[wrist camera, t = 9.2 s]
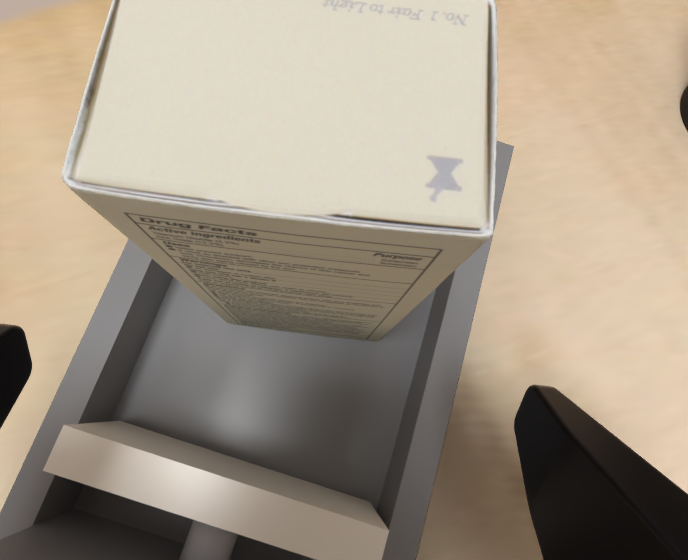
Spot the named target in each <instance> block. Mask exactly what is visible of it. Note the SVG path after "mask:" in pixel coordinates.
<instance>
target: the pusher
mask: <svg viewBox="0 0 688 560" xmlns="http://www.w3.org/2000/svg"><path fill="white" fill-rule="evenodd" d="M43 471H45V472H48V473H51V474H54V475H58V476H61V477H64V478H67V479H70V480H73V481H76V482H79V483H82V484H85V485H88V486H91V487H94V488H98V489H101V490H104V491H107V492H110V493H113V494H116V495H119V496H122V497H125V498H128V499H131V500H134V501H138V502H141V503H144V504H147V505H150V506H153V507H156V508H159V509H162V510H165V511H168V512H171V513H174V514H178V515H181V516H184V517H187V518H190V519H193V523H192V526H191V528H190V531H189V534H188V537H187V539H186V542H185V545H184V548H183V550H182V553H181V556H180V559H179V560H230V557H231V554H232V551H233V548H234V545H235V542H236V539H237V536H238V534H239V535H242V536H245V537H248V538H251V539H254V540H258V541H261V542H264V543H267V544H270V545H273V546H276V547H279V548H282V549H285V550H288V551H291V552H294V553H298V554H301V555H304V556H307V557H310V558H313V559H316V560H382V556H383V552H384V549H385V545H386V541H387V537H388V533H389V530H388V528H387V527H386V525H385V524H384V522H383V521H382V519H381V518H380V516H379V515H378V513H377V512H376V510H375V509H374V507H373V506H372V504H371V503H370V502H369V501H366V500H363V499H360V498H357V497H354V496H351V495H348V494H345V493H341V492H338V491H335V490H332V489H329V488H326V487H323V486H320V485H317V484H314V483H311V482H308V481H304V480H301V479H298V478H295V477H292V476H289V475H286V474H283V473H280V472H277V471H274V470H271V469H267V468H264V467H261V466H258V465H255V464H252V463H249V462H246V461H243V460H240V459H237V458H234V457H230V456H227V455H224V454H221V453H218V452H215V451H212V450H209V449H206V448H203V447H200V446H196V445H193V444H190V443H187V442H184V441H181V440H178V439H175V438H172V437H169V436H166V435H163V434H159V433H156V432H153V431H150V430H147V429H144V428H141V427H138V426H135V425H132V424H129V423H126V422H122V421H109V422H96V423H83V424H70V425H63V427H62V430H61V432H60V434H59V436H58V438H57V440H56V443H55V445H54V447H53V449H52V451H51V454H50V456H49V458H48V460H47V462H46V465H45V467H44V469H43Z"/></svg>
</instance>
